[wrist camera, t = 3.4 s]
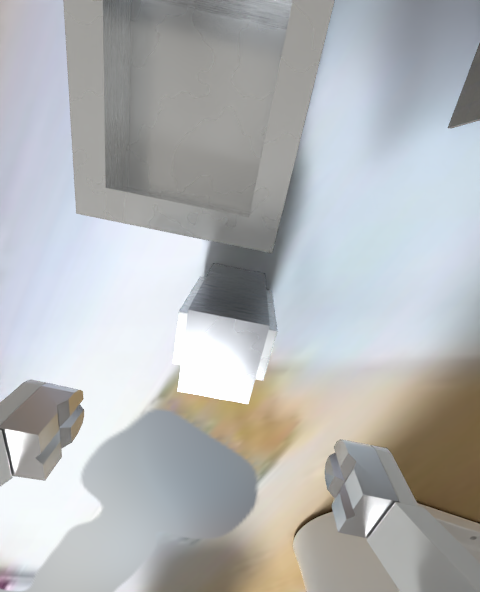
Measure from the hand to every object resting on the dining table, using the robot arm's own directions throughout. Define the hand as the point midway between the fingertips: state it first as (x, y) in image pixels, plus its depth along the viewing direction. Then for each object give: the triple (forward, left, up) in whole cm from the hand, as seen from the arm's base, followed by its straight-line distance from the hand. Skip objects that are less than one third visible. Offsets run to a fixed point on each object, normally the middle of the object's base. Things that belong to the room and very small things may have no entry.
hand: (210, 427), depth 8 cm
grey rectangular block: (0, 0, -11) cm, 11 cm away
